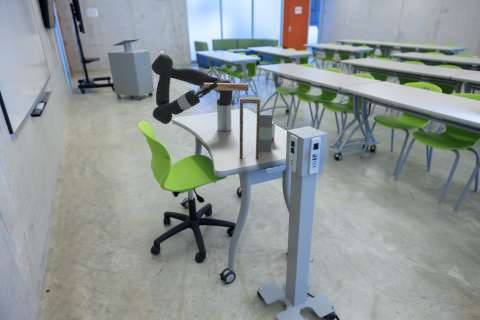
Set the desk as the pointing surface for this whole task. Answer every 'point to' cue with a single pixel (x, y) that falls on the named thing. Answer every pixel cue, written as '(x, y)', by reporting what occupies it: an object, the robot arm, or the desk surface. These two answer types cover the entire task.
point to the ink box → (273, 131)
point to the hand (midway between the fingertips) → (217, 83)
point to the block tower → (265, 131)
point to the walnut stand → (242, 100)
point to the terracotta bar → (230, 86)
